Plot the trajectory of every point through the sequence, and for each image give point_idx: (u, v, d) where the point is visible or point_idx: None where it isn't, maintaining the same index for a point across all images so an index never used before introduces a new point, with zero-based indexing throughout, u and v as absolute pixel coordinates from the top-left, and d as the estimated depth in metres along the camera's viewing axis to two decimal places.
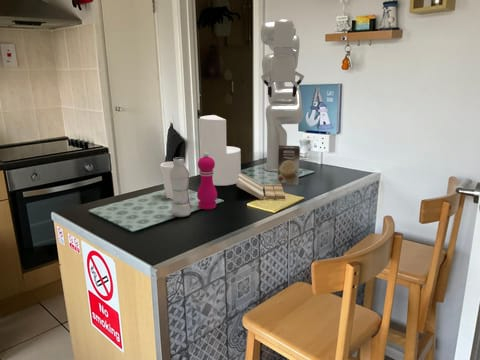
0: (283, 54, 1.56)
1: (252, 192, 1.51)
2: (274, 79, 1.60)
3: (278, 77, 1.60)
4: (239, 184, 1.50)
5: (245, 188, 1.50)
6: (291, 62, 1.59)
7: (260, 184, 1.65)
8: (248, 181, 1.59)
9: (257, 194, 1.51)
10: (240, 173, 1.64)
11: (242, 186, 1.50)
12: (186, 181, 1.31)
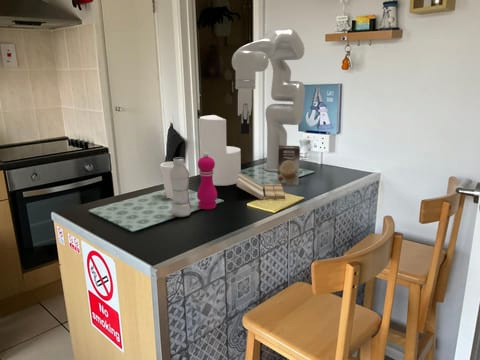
0: None
1: (252, 192, 1.51)
2: (250, 113, 1.51)
3: None
4: (239, 184, 1.50)
5: (245, 188, 1.50)
6: None
7: (260, 184, 1.65)
8: (248, 181, 1.59)
9: (257, 194, 1.51)
10: (240, 173, 1.64)
11: (242, 186, 1.50)
12: (186, 181, 1.31)
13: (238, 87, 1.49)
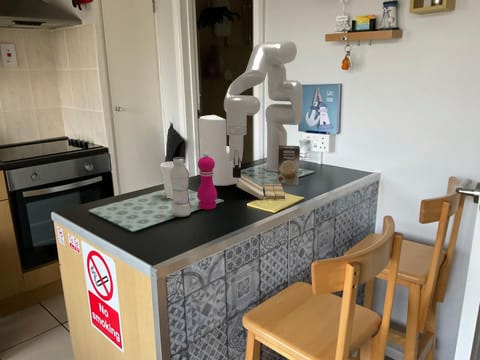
0: None
1: (252, 192, 1.51)
2: None
3: (242, 155, 1.53)
4: (239, 184, 1.50)
5: (245, 188, 1.50)
6: None
7: (260, 184, 1.65)
8: (248, 181, 1.59)
9: (257, 194, 1.51)
10: None
11: (242, 186, 1.50)
12: (186, 181, 1.31)
13: (229, 133, 1.50)
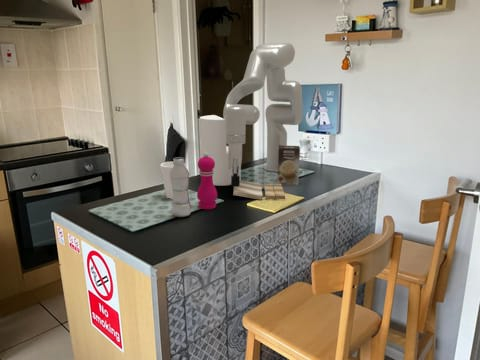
0: None
1: (250, 196, 1.51)
2: (240, 167, 1.52)
3: None
4: (235, 192, 1.51)
5: (242, 194, 1.51)
6: None
7: (259, 184, 1.65)
8: (245, 186, 1.59)
9: (255, 196, 1.51)
10: None
11: (238, 193, 1.51)
12: (186, 181, 1.31)
13: (228, 142, 1.51)
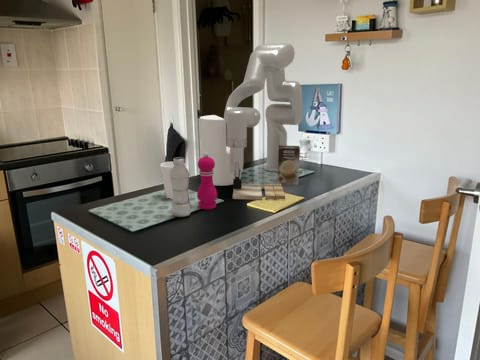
0: (246, 144, 1.54)
1: (249, 197, 1.51)
2: (242, 170, 1.53)
3: None
4: (234, 196, 1.51)
5: (241, 197, 1.51)
6: None
7: (258, 185, 1.65)
8: (244, 188, 1.60)
9: (255, 197, 1.51)
10: None
11: (238, 196, 1.51)
12: (186, 181, 1.31)
13: (229, 146, 1.52)
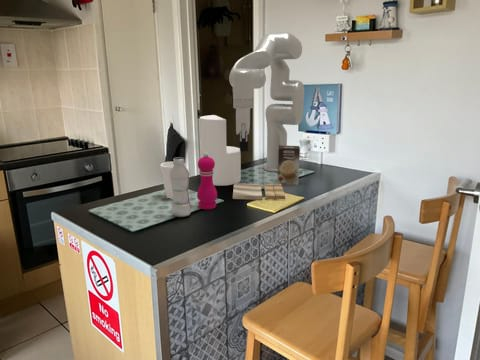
0: None
1: (249, 197, 1.51)
2: None
3: None
4: (234, 196, 1.51)
5: (241, 197, 1.51)
6: None
7: (258, 185, 1.65)
8: (244, 188, 1.60)
9: (255, 197, 1.51)
10: (235, 184, 1.65)
11: (238, 196, 1.51)
12: (186, 181, 1.31)
13: (236, 106, 1.50)
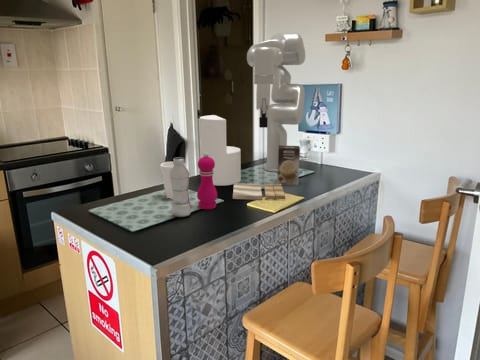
0: (273, 82, 1.57)
1: (249, 197, 1.51)
2: (269, 107, 1.56)
3: None
4: (234, 196, 1.51)
5: (241, 197, 1.51)
6: None
7: (258, 185, 1.65)
8: (244, 188, 1.60)
9: (255, 197, 1.51)
10: (235, 184, 1.65)
11: (238, 196, 1.51)
12: (186, 181, 1.31)
13: (257, 82, 1.55)
